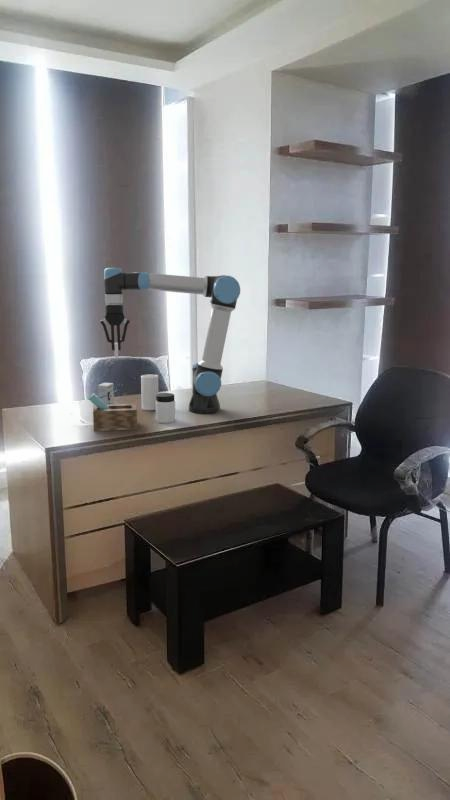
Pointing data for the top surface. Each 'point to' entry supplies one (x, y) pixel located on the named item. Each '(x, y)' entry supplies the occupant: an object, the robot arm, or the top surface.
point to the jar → (165, 408)
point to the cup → (149, 391)
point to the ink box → (106, 393)
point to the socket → (115, 417)
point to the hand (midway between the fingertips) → (116, 357)
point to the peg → (98, 402)
